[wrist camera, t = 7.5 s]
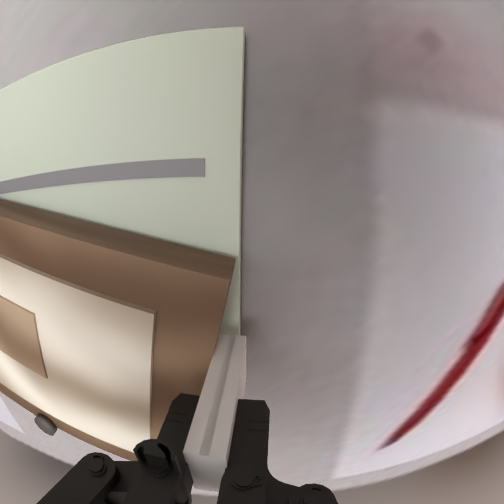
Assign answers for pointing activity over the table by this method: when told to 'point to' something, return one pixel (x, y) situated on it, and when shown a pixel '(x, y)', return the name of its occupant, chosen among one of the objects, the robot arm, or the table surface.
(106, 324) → the frame
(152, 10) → the table surface
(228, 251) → the wall panel
